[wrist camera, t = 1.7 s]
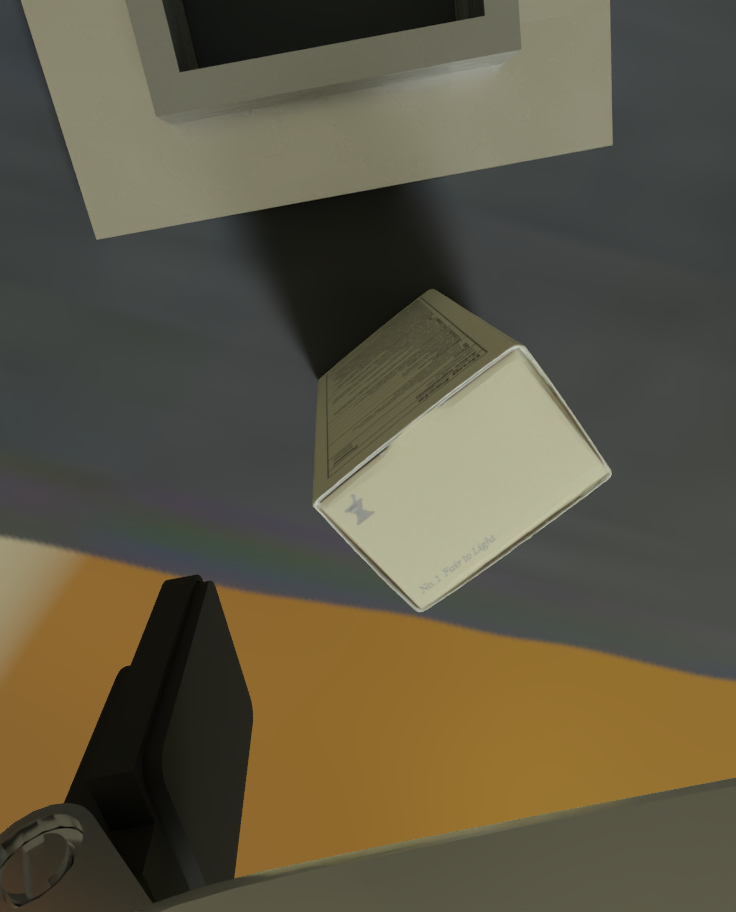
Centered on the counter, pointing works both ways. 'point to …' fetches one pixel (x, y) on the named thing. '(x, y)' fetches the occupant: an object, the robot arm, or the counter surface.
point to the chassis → (312, 105)
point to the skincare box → (444, 449)
